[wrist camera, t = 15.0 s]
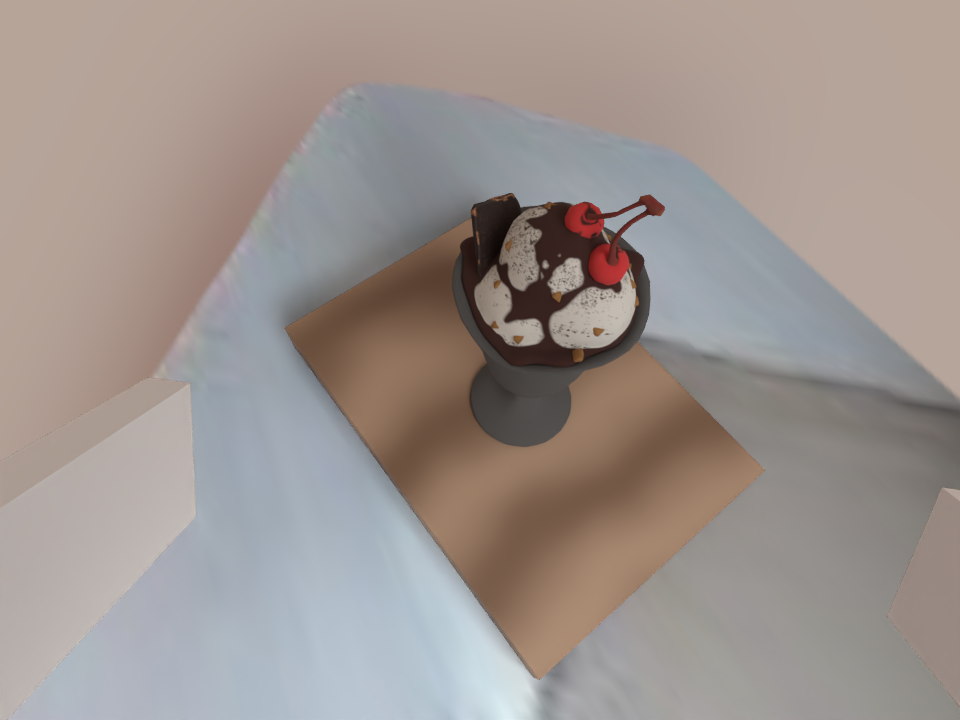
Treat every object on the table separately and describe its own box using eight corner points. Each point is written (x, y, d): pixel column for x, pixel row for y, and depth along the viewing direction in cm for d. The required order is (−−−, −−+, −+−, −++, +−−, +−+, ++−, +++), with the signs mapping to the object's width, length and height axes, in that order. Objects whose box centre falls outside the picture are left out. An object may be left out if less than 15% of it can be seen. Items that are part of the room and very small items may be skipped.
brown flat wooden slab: (746, 480, 29) (764, 470, 27) (533, 677, 25) (539, 679, 23) (496, 223, 36) (498, 201, 34) (294, 346, 32) (284, 327, 30)
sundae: (609, 446, 28) (755, 257, 14) (471, 479, 27) (489, 311, 13) (565, 327, 30) (654, 74, 17) (439, 353, 29) (427, 108, 16)
